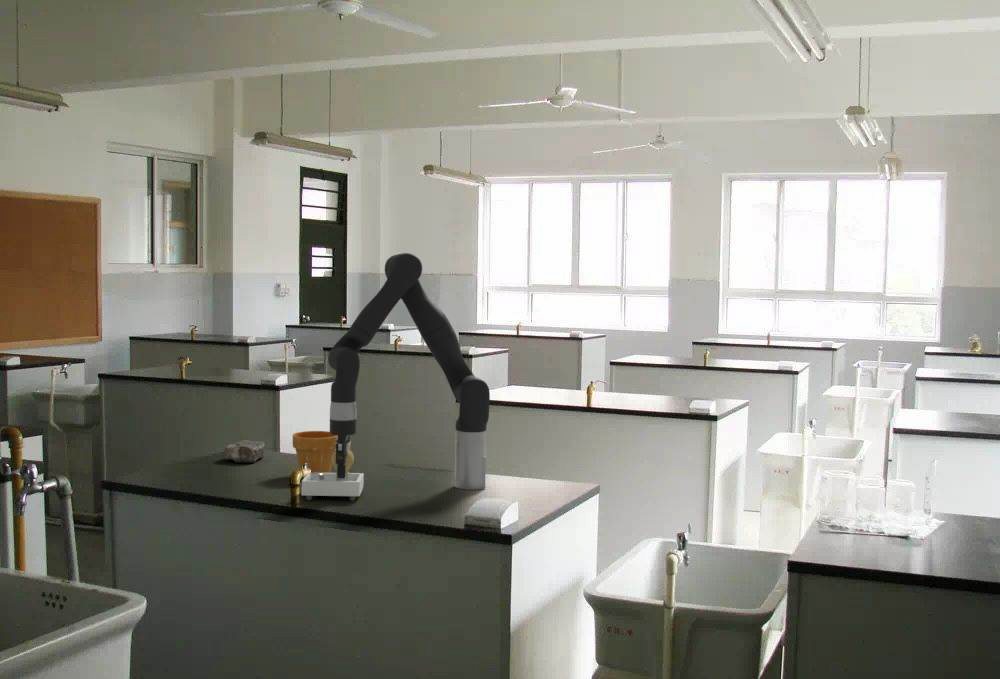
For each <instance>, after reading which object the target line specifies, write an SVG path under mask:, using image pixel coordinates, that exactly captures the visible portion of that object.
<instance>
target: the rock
mask: <svg viewBox="0 0 1000 679" xmlns="http://www.w3.org/2000/svg"><path fill="white" fill-rule="evenodd" d="M265 444H266V443H265V442H264V441H257V440H254V441H252V440H248V439H245V438H244V439H242V440H239V441H235V442H234V441H233V442H232V443H230V444H227V445H226V447H224V451H223V452H222V458H223V459H226V460H230V461H234V463H235V464H236V463H237V464H238V463H246V464H247V463H256V461H257V460H259V459H261V458H264V456H265V455H266V450H265V449H266V445H265Z"/></svg>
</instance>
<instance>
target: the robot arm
mask: <svg viewBox="0 0 1000 679" xmlns="http://www.w3.org/2000/svg"><path fill="white" fill-rule="evenodd" d="M422 272H423V264H422V262H421V259H420V258H419V257H418V256H417V255H416V254H413V253H409V252H402V253H397V254H394V255H392V256H389V257H388V258H387V260H386V261H385V264H384V274H385V276H386V280H385V282H384V284H383V285H382V287H381V288H380V289H379V291H378V292H377V294H376V295H375V296H374V297H373V298H372V299H371V300H370V301H369V302H368V303H367V304H366V305H365V306H364V307H363V309H362V310H361V311H360V312H359V314H358V315H357V317H356V318H355V320H354V321H353V323H352V324H351V325H350V327H349V329H348V330H347V331H346V332H345V334H344V335H343V336H342V337H341V338H340V339H338V341H337V342H336V343H335V344H334V346H333V347H332V348H331V349H330V351H329V354H328V356H327V357H328V358H327V361H328V364H329V366H330V368H331V369H333V370H334V371H335V379H334V380H335V381H333V382H331V387H330V406H329V432H330V434H332V435H337V436H338V440H336V441H335V447H336V449H335V450H336V453H335V455H336V462H335V463H336V464H337V471H336V472H337V478H345V465H346V457H348V449H349V450H350V451H351V443H352V442H351V436H353V435H356V434H357V424H358V423H357V422H358V421H357V413H358V410H357V399H356V398H357V383H358V378H359V374H360V368H361V367H360V366H361V362H360V361H361V360H360V356H359V354H358V353H359V352H360V350H361V349H362V348H364V347H368V345H369V344H370V343H371V342H372V340H373V339H374V337H375V336H376V334H377V332H378V331H379V330H380V328H381V326H382V325H383V324H384V322H385V321H386V319H387V317H389V314H390V313H392V310H393V309H394V307H395V306H396V305H397V304H398V302H400V300H402V302H403V303H404V306H405V307H406V309H407V311H408V313H409V315H410V316H411V319H412V321H413V323H414V324H415V326H416V328H417V331H418V332H419V334H420V336H421V339H422V340H423V341H424V343H425V345H426V347H427V348H428V349H429V351H430V353H431V354H432V356H433V358H434V359H435V361H436V362H437V364H438V365H439V367H440V368H441V369H442V371H443V374H444V376H445V378H446V381H447V382H448V384H449V387H450V389H451V392H452V394H453V396H454V398H455V400H456V401H457V402H458V403H459V411H458V412H459V414H458V418H457V419H456V421H455V435H454V436H455V438H454V439H455V440H454V442H455V443H454V444H455V445H454V480H453V481H454V488H456V489H460V490H481V489H486V475H487V474H486V472H487V471H486V469H487V468H486V467H487V466H486V465H487V464H486V463H487V455H486V454H487V452H486V450H487V425H488V422H489V416H490V404H491V403H490V398H491V397H490V395H491V394H490V388H489V385H488V383H486V381H485V380H483V379H481V378H479V377H476V376H475V375H474V373H473V371H472V369H471V368H470V367H469V366H468V364H467V363H466V361H465V359H464V357H463V355H462V351H461V346H460V343H459V340H458V335H457V334H456V332H455V329H454V328H453V326H452V324H451V323H450V320H449V319H448V317H447V315H446V314H445V313H444V311H443V310H442V309H441V308H440V306H438V305H437V304H436V302H435V301H434V300H433V299H432V298H431V297H430V296H429V295H428V294H427V292H426V291H425V289H424V287H423V286H422V283H421V282H420V277H421V275H422ZM345 452H346V453H345ZM339 457H343V460H339Z"/></svg>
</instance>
